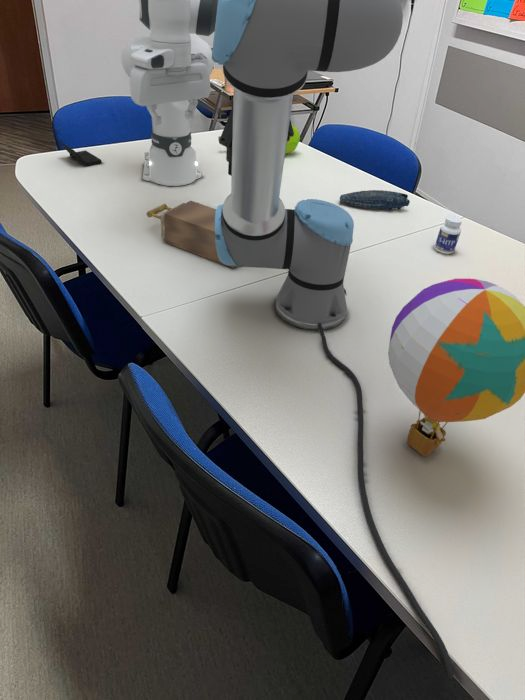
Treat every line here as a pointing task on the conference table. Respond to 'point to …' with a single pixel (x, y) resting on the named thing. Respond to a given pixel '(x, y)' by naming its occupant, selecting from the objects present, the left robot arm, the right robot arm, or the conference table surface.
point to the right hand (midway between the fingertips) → (255, 171)
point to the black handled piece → (82, 156)
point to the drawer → (161, 215)
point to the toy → (458, 355)
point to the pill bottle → (448, 235)
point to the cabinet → (193, 230)
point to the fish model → (376, 199)
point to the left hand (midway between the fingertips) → (173, 121)
